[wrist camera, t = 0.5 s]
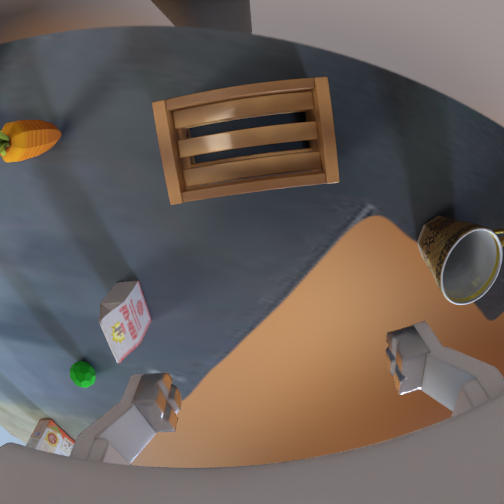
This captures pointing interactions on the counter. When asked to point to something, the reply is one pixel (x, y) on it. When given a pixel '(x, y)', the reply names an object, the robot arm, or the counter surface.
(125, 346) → the tea box
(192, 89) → the counter surface
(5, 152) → the carrot
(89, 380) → the polyhedron
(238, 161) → the slatted rack
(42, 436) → the cracker box
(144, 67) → the counter surface
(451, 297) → the ceramic cup
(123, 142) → the counter surface
